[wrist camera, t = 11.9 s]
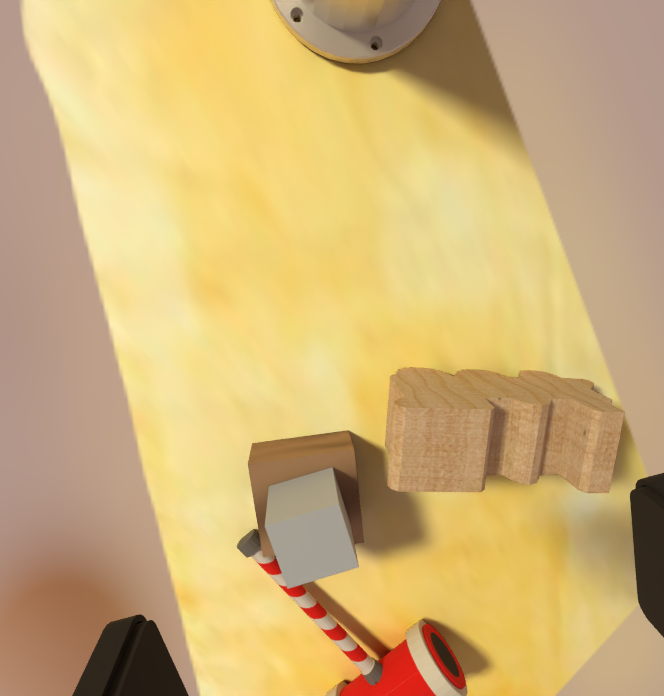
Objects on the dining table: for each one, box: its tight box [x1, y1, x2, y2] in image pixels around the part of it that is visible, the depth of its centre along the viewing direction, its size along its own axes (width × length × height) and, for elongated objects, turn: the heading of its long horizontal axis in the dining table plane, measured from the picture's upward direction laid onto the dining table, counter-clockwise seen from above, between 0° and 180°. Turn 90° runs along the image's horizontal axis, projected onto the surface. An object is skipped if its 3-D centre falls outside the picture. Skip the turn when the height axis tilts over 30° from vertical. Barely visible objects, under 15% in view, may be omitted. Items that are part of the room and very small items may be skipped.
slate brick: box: [265, 467, 359, 589], centre depth 32 cm, size 5×5×5 cm
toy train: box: [385, 367, 625, 493], centre depth 33 cm, size 6×17×10 cm, turn 87°
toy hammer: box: [237, 529, 467, 696], centre depth 39 cm, size 23×12×6 cm, turn 41°
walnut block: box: [248, 431, 364, 557], centre depth 37 cm, size 8×8×4 cm
